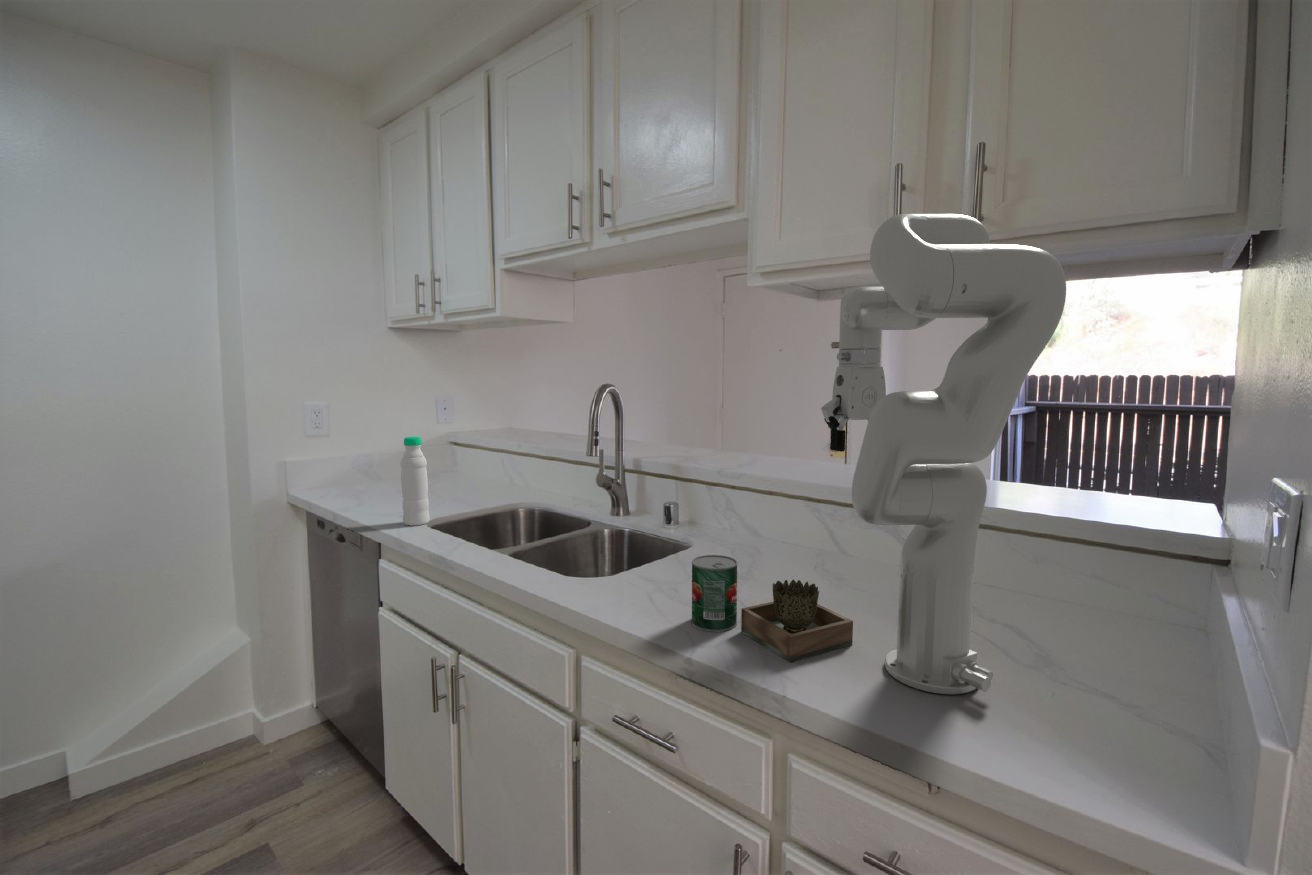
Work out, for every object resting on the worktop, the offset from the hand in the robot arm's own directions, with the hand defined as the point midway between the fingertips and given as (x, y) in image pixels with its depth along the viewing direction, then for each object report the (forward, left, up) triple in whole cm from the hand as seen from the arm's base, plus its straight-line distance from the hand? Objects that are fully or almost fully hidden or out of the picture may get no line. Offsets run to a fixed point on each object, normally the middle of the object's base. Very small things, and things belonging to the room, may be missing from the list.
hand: (856, 448), depth 119 cm
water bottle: (+100, +69, -29) cm, 125 cm away
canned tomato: (0, +32, -29) cm, 43 cm away
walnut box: (-11, +24, -29) cm, 39 cm away
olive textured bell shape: (-11, +24, -28) cm, 39 cm away
